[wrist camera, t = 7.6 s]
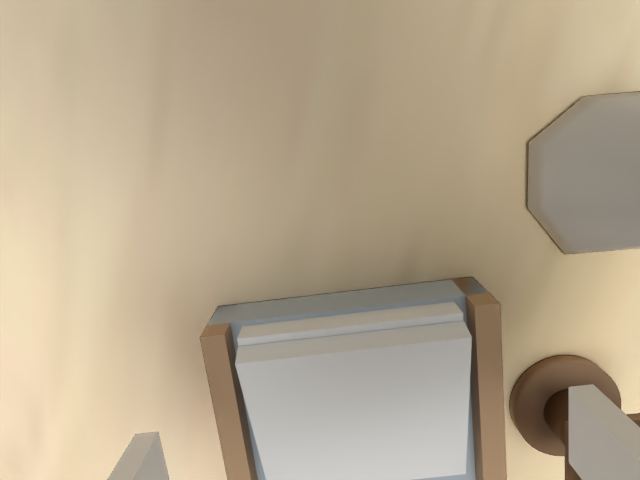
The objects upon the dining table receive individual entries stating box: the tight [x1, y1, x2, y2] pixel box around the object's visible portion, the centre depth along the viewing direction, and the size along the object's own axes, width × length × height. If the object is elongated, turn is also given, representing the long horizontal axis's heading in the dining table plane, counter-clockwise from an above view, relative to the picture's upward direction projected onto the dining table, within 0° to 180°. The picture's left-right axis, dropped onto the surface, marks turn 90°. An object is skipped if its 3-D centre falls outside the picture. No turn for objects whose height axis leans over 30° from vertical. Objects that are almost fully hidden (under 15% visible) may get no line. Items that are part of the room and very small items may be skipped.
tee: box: [510, 355, 640, 480], centre depth 21 cm, size 5×5×5 cm
